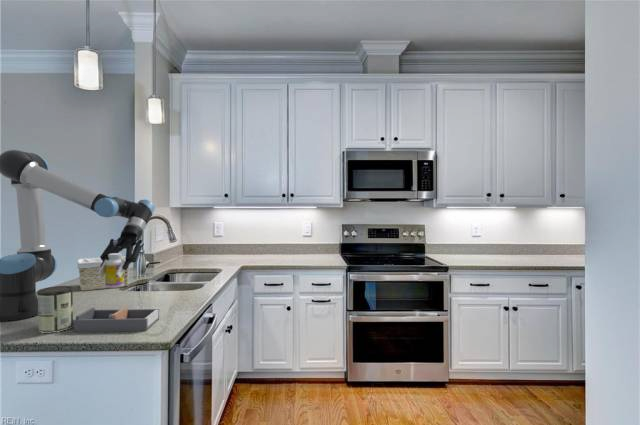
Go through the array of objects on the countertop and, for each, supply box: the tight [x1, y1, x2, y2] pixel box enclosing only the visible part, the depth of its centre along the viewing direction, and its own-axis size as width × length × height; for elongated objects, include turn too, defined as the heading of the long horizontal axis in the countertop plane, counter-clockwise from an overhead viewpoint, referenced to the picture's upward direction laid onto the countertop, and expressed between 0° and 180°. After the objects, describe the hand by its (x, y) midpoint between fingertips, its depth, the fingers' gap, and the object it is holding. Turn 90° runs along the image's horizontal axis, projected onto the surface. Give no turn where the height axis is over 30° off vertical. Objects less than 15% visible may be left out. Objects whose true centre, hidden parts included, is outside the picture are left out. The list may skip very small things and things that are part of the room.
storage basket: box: [76, 255, 130, 292], centre depth 204 cm, size 24×16×15 cm
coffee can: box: [36, 285, 74, 334], centre depth 136 cm, size 10×10×14 cm
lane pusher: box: [109, 306, 129, 319], centre depth 140 cm, size 4×10×4 cm, turn 4°
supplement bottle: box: [105, 252, 125, 289], centre depth 153 cm, size 7×7×13 cm
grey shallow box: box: [73, 307, 160, 333], centre depth 141 cm, size 24×13×5 cm, turn 94°
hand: (109, 275), depth 149 cm, fingers closed on supplement bottle, 7 cm apart
